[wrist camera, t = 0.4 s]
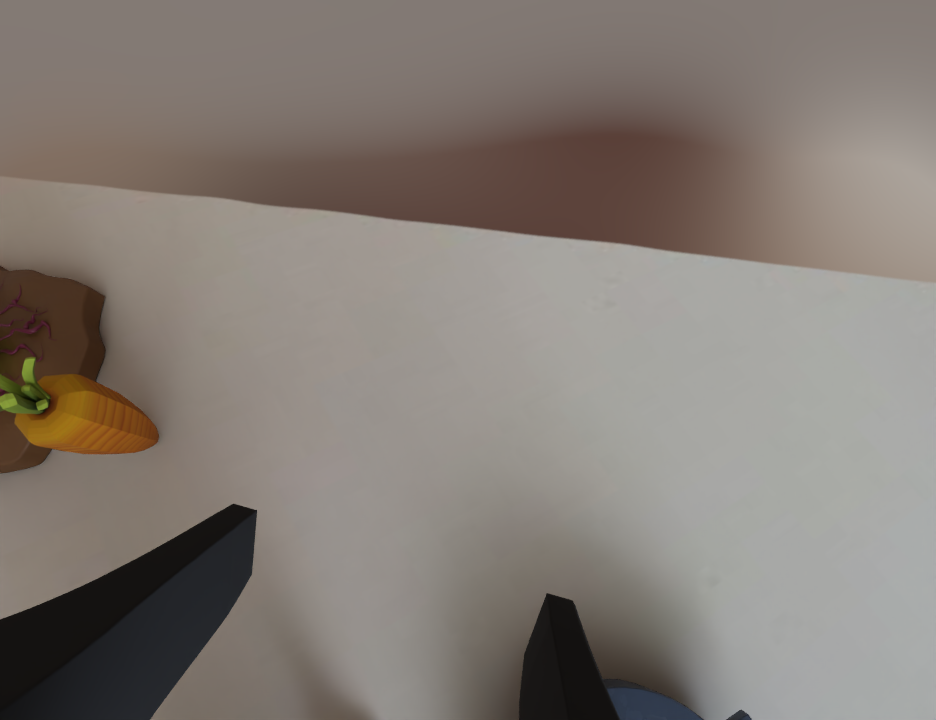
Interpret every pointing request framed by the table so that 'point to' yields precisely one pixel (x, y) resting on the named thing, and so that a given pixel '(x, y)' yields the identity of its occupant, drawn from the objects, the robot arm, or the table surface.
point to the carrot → (76, 414)
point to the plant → (43, 344)
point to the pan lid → (647, 705)
